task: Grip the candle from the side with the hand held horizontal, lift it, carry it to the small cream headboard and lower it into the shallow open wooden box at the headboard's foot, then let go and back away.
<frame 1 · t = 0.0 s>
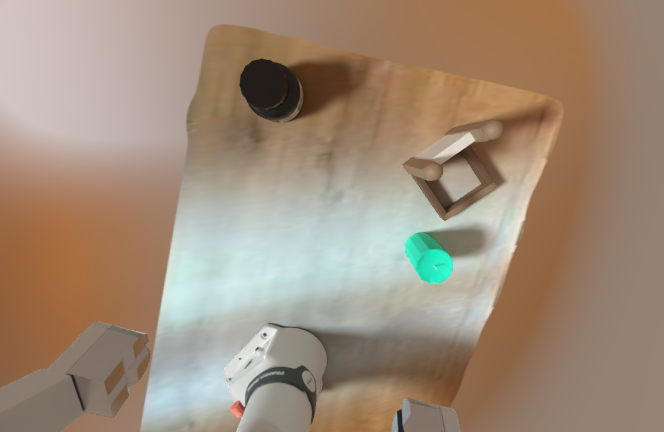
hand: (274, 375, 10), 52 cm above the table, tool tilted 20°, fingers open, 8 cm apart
shallow open wooden box: (449, 178, 60), on the table
candle: (420, 247, 63), on the table
ink bottle: (280, 97, 58), on the table
headboard: (430, 150, 59), on the table
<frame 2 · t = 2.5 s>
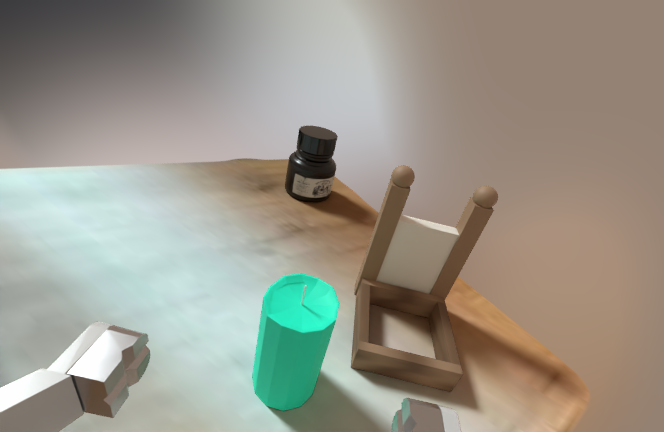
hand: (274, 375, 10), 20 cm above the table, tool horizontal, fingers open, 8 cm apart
shallow open wooden box: (397, 337, 38), on the table
candle: (284, 379, 31), on the table
ink bottle: (307, 192, 63), on the table
headboard: (395, 298, 43), on the table
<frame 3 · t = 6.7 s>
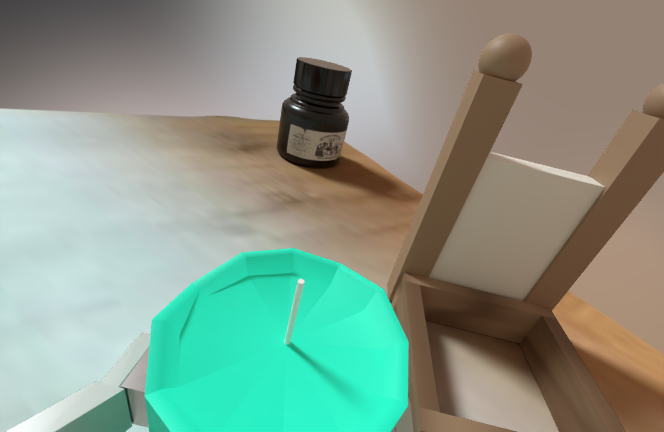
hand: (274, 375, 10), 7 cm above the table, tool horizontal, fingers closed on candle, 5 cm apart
shallow open wooden box: (478, 384, 20), on the table
ink bottle: (307, 157, 46), on the table
headboard: (456, 308, 25), on the table
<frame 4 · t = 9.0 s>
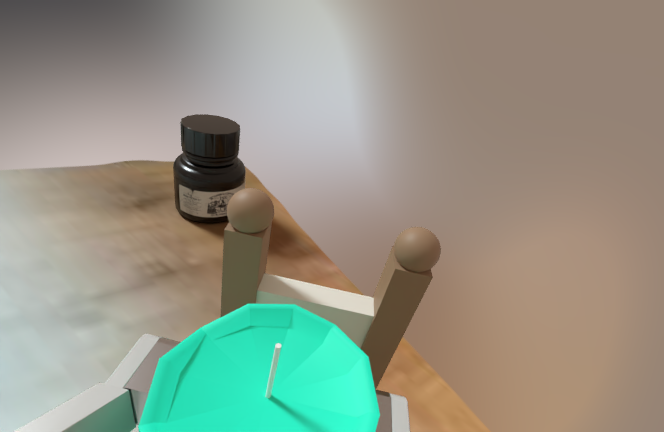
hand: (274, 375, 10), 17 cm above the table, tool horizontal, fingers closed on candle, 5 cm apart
ink bottle: (210, 208, 46), on the table
headboard: (290, 399, 26), on the table
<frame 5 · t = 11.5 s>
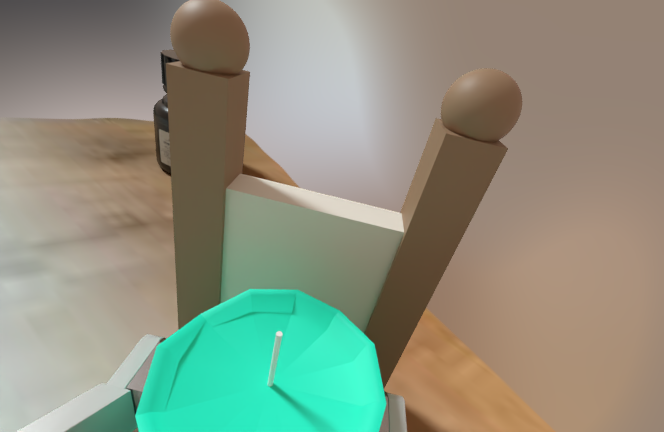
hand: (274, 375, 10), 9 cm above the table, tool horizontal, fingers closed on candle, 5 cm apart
ink bottle: (198, 166, 40), on the table
headboard: (280, 375, 19), on the table
when the fingers open (9 cm above the table, at t = 11.7 s): candle stays where it is, resting in shallow open wooden box.
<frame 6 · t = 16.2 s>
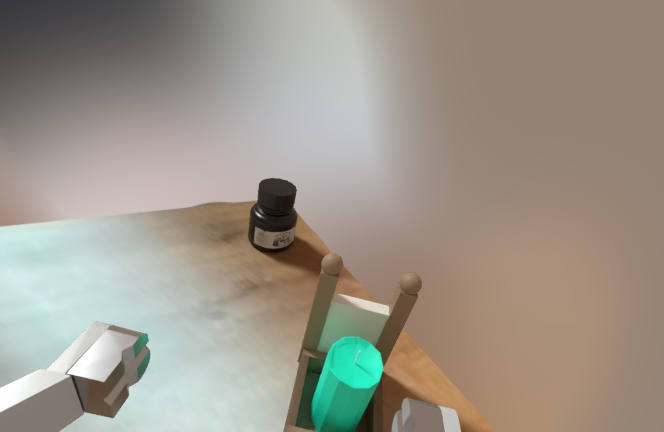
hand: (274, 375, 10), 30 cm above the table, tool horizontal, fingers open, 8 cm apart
shallow open wooden box: (333, 410, 39), on the table
candle: (334, 413, 39), resting in shallow open wooden box
ink bottle: (270, 240, 65), on the table
headboard: (338, 364, 45), on the table
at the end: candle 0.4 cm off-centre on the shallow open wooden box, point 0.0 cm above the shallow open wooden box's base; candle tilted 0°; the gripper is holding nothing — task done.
